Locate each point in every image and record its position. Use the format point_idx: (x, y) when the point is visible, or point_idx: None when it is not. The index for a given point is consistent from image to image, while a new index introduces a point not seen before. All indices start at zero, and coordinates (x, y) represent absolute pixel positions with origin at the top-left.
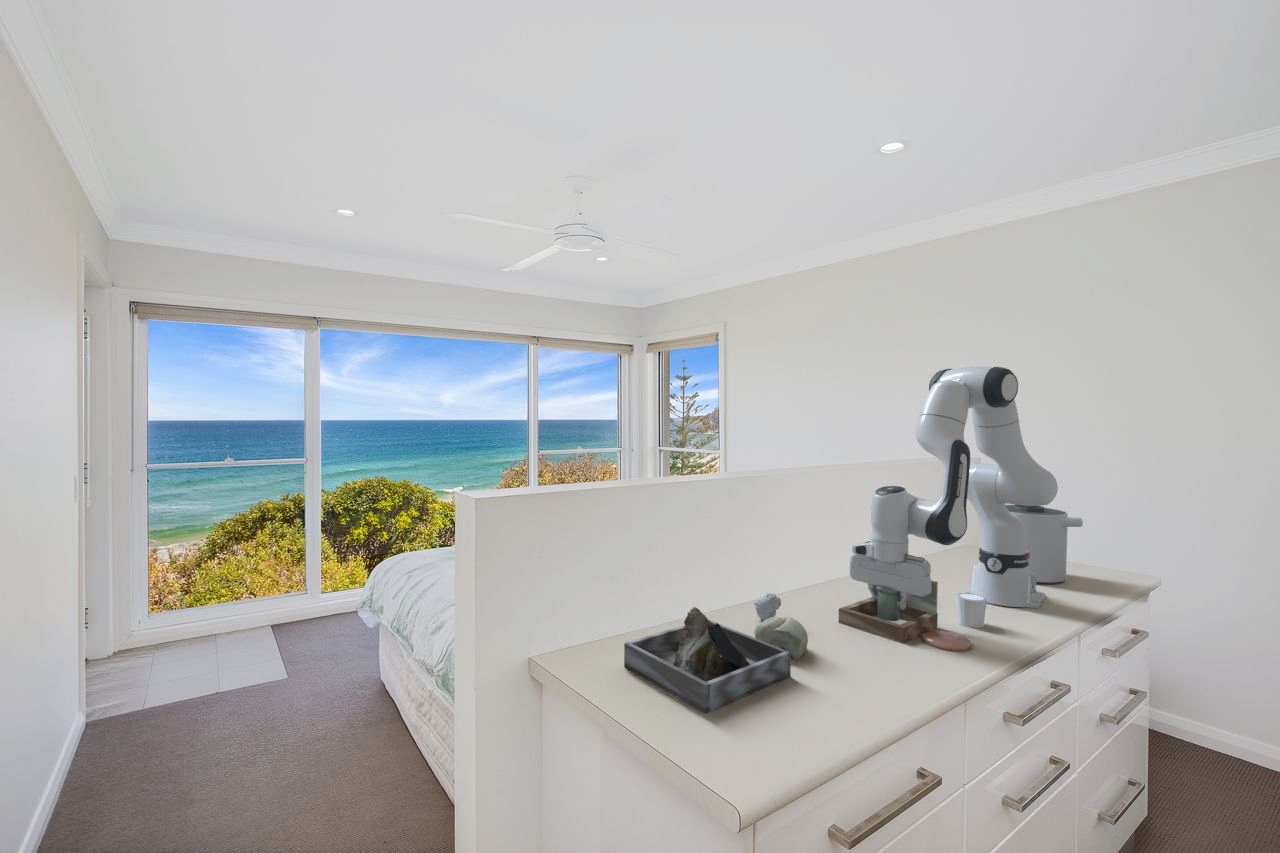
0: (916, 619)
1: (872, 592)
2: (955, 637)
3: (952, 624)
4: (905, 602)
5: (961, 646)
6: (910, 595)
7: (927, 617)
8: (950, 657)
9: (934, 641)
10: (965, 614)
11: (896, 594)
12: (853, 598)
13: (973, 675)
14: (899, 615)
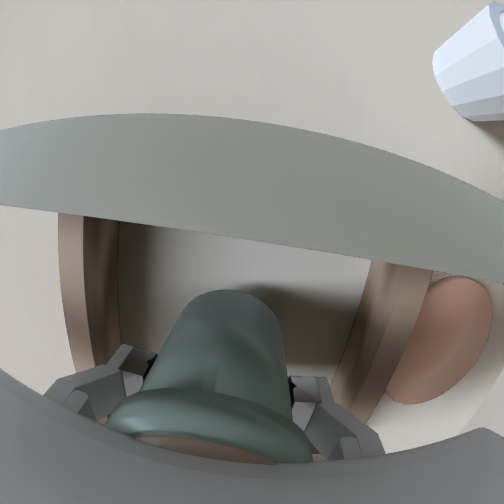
0: (374, 379)
1: (109, 410)
2: (467, 321)
3: (436, 124)
4: (332, 403)
5: (467, 371)
6: (377, 435)
7: (415, 317)
8: (432, 413)
9: (413, 397)
10: (494, 115)
11: None
12: (24, 106)
13: (449, 437)
14: (282, 340)
